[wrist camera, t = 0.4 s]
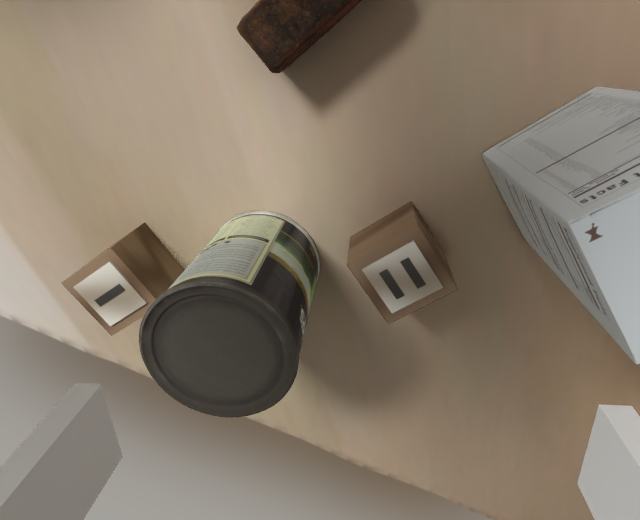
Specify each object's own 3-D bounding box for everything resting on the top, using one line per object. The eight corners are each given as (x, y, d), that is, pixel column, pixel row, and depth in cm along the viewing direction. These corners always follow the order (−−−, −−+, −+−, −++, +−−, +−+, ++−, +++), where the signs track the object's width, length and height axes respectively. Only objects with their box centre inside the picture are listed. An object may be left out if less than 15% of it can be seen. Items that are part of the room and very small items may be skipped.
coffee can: (340, 241, 40) (325, 329, 27) (292, 328, 44) (260, 440, 31) (233, 188, 39) (165, 254, 26) (194, 282, 43) (120, 378, 30)
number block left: (100, 254, 43) (59, 284, 37) (144, 222, 41) (108, 249, 35) (143, 301, 45) (110, 337, 39) (187, 273, 43) (159, 306, 37)
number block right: (350, 236, 40) (346, 267, 34) (411, 201, 38) (418, 226, 32) (385, 288, 41) (388, 325, 36) (445, 257, 39) (458, 291, 34)
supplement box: (526, 246, 38) (630, 373, 23) (477, 153, 36) (557, 227, 20) (645, 187, 35) (855, 288, 20) (601, 81, 33) (805, 104, 17)
